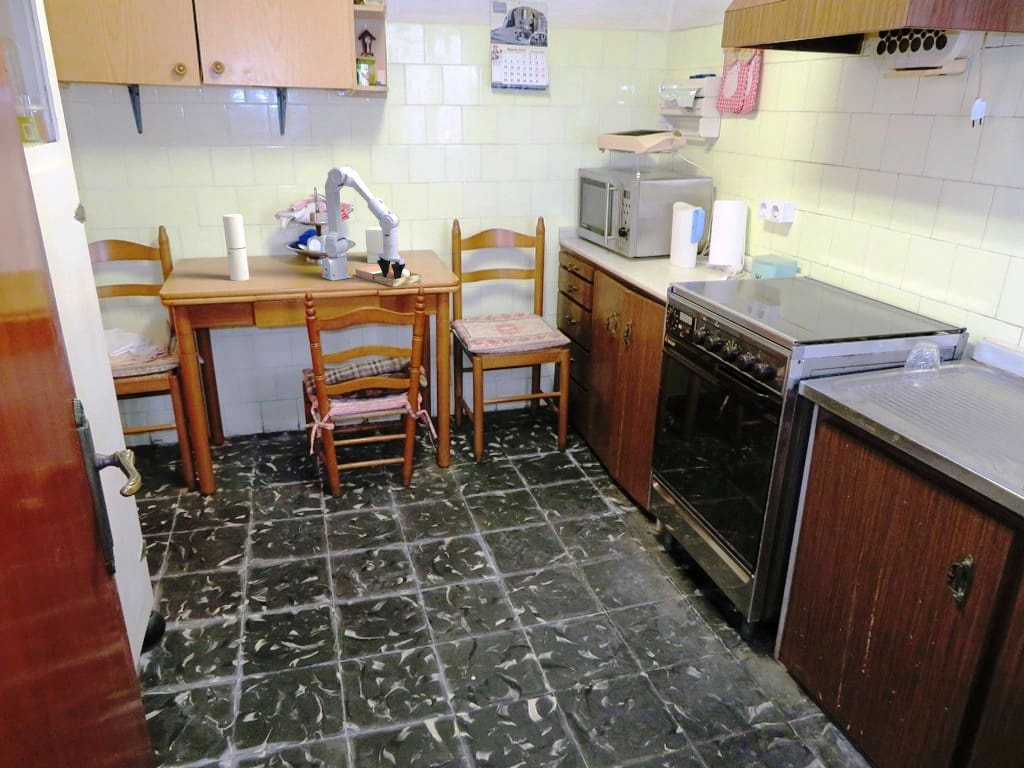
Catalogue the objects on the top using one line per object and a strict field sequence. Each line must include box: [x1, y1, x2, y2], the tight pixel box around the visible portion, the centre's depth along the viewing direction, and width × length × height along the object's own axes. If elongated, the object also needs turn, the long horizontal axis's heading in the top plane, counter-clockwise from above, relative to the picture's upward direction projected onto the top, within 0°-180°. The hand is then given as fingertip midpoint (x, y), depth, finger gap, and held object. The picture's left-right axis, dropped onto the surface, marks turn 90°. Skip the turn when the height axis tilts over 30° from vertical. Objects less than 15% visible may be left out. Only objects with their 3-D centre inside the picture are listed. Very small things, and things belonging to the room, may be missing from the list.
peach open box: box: [355, 264, 393, 282], centre depth 299 cm, size 14×12×3 cm
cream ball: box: [401, 268, 410, 278], centre depth 292 cm, size 4×4×4 cm
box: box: [373, 270, 423, 288], centre depth 290 cm, size 14×12×3 cm
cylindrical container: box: [222, 213, 250, 282], centre depth 285 cm, size 7×7×25 cm
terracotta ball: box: [387, 272, 394, 280], centre depth 288 cm, size 4×4×4 cm
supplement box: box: [365, 225, 383, 264], centre depth 321 cm, size 9×9×15 cm
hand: (391, 279), depth 288 cm, fingers open, 7 cm apart
